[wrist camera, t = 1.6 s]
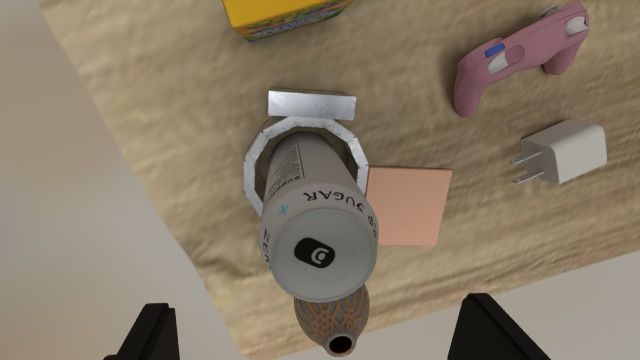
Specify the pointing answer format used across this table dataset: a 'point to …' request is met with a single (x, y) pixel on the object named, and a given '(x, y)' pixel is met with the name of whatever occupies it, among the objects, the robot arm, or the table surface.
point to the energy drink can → (316, 222)
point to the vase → (335, 321)
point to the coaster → (407, 203)
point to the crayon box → (278, 15)
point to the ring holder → (305, 112)
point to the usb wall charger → (563, 151)
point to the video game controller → (521, 53)
